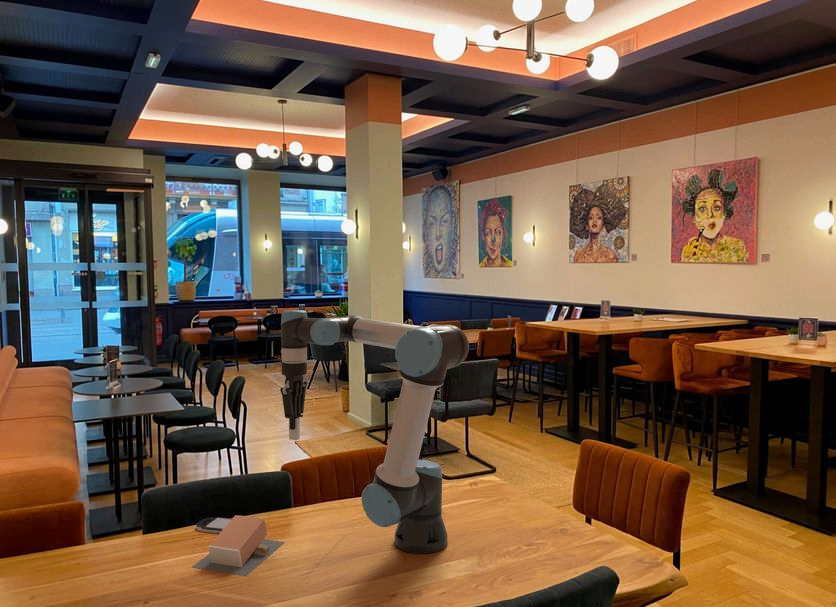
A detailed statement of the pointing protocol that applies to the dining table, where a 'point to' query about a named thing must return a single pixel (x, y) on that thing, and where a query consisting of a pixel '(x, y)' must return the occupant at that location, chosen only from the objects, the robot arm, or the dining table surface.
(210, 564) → the mat
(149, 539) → the dining table surface
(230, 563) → the block
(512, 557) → the dining table surface
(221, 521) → the gaming console
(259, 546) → the bar
